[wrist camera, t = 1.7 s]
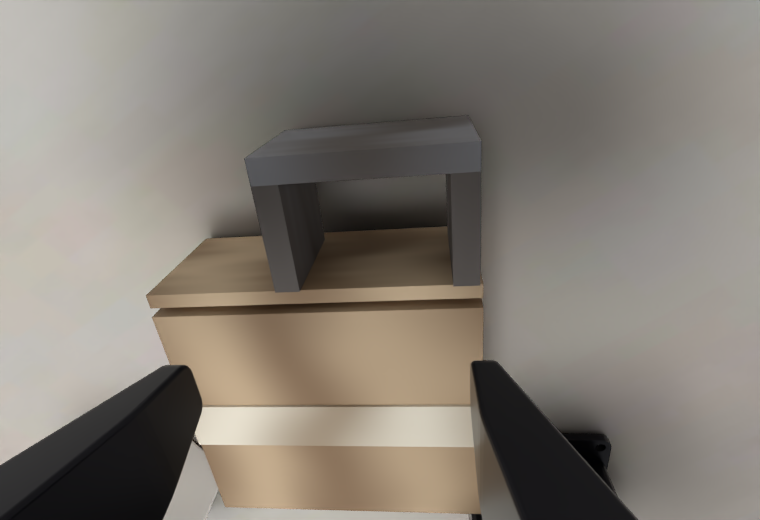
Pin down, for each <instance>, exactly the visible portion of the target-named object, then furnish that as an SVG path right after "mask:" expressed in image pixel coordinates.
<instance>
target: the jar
mask: <svg viewBox="0 0 760 520" xmlns="http://www.w3.org/2000/svg"><path fill="white" fill-rule="evenodd" d="M218 490H219V489H218V487H217V484H216V481H215V479H214V476H213V474H212V471H211V469H210V466H209V463H208V461H207V458H206V456H205V453H204V450H203V449H202V448H200V447H199V446H198V445H197V444H196V443H195V442H193V441H192V443H191V446H190V449H189V452H188V455H187V458H186V461H185V464H184V467H183V470H182V473H181V476H180V478H179V481H178V484H177V487H176V490H175V492H174V495H173V498H172V500H171V502H170V505H169V507H168V509H167V512H166V514H165V516H164V518H163V520H206V518H207V516H208V514H209V511H210V509H211V507H212V504H213V502H214V500H215V497H216V495H217V493H218Z"/></svg>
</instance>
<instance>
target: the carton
mask: <svg viewBox="0 0 760 520" xmlns="http://www.w3.org/2000/svg"><path fill="white" fill-rule="evenodd" d="M152 319H153V321H154V324H155V326H156V329H157V332H158V334H159V337H160V339H161V342H162V345H163V347H164V350H165V352H166V355H167V357H168V360H169V363H170V365H186V366H188V367H189V368H190V369H191V370H192V373H193V375H194V378H195V381H196V384H197V386H198V389H199V392H200V395H201V398H202V403H203V407H202V413H201V416H200V419H199V422H198V425H197V428H196V431H195V435H196V437H197V440H198V443H199V445H202V448H203V450H204V453H205V456H206V458H207V461H208V463H209V466H210V469H211V471H212V474H213V476H214V479H215V481H216V484H217V487H218V489H219V492H220V494H221V497H222V500H223V502H224V505H225V507H242V508H278V509H315V510H351V511H388V512H424V513H460V514H481V509H480V504H479V495H478V487H477V475H476V464H475V453H474V442H473V430H472V419H471V406H470V364H471V362H472V361H478V360H483V303H482V299H481V298H464V299H432V300H400V301H368V302H336V303H304V304H272V305H240V306H208V307H176V308H160V310H159V311H158V312H157V313H156V314H155V315H154V316H153V317H152Z"/></svg>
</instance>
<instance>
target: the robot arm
mask: <svg viewBox="0 0 760 520" xmlns="http://www.w3.org/2000/svg"><path fill="white" fill-rule="evenodd" d="M470 406H471V419H472V430H473V442H474V453H475V464H476V475H477V487H478V495H479V504H480V509H481V514H469V520H638V519H637V518H636V517H635V516H634V515H633V513H632V512H631V511H630V510H629V509H628V508H627V507H626V506H625V504H624V503H623V502H622V501H621V500H620V499H619V498H618V496H617V494H616V492H615V489H614V487H613V484H612V482H611V479H610V477H609V475H608V472H607V467H608V462H609V456H610V451H611V444H610V442H609V440H608V438H607V437H606V436H605V435H603V434H561V433H560V432H559V430H558V429H557V428H556V427H555V426H554V425H553V424H552V423H551V421H550V420H549V419H548V418H547V417H546V416H545V415H544V414H543V412H542V411H541V410H540V409H539V408H538V407H537V406H536V405H535V403H534V402H533V401H532V400H531V399H530V398H529V397H528V396H527V394H526V393H525V392H524V391H523V390H522V389H521V388H520V387H519V386H518V384H517V383H516V382H515V381H514V380H513V379H512V378H511V377H510V375H509V374H508V373H507V372H506V371H505V370H504V369H503V368H502V366H501V365H500V364H499V363H498V362H496V361H494V360H478V361H472V362H471V364H470ZM202 407H203V403H202V398H201V395H200V392H199V389H198V386H197V384H196V381H195V378H194V375H193V373H192V370H191V369H190V368H189V367H188V366H186V365H165V366H162V367H160V368H159V369H157V370H156V371H154V372H152V373H151V374H149V375H147V376H146V377H144V378H142V379H141V380H139V381H138V382H136V383H134V384H133V385H131V386H129V387H128V388H126V389H124V390H123V391H121V392H119V393H118V394H116V395H115V396H113V397H111V398H110V399H108V400H106V401H105V402H103V403H101V404H100V405H98V406H97V407H95V408H93V409H92V410H90V411H88V412H87V413H85V414H83V415H82V416H80V417H79V418H77V419H75V420H74V421H72V422H70V423H69V424H67V425H65V426H64V427H62V428H61V429H59V430H57V431H56V432H54V433H52V434H51V435H49V436H47V437H46V438H44V439H42V440H41V441H39V442H38V443H36V444H34V445H33V446H31V447H29V448H28V449H26V450H24V451H23V452H21V453H20V454H18V455H16V456H15V457H13V458H11V459H10V460H8V461H6V462H5V463H3V464H2V465H0V520H163V518H164V516H165V514H166V512H167V509H168V507H169V505H170V502H171V500H172V498H173V495H174V492H175V490H176V487H177V484H178V481H179V478H180V476H181V473H182V470H183V467H184V464H185V461H186V458H187V455H188V452H189V449H190V446H191V443H192V440H193V437H194V434H195V431H196V428H197V425H198V422H199V419H200V416H201V413H202ZM598 444H599V445H598Z"/></svg>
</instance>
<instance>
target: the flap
mask: <svg viewBox="0 0 760 520" xmlns="http://www.w3.org/2000/svg"><path fill="white" fill-rule="evenodd" d="M481 152H482V141H481V139H480V137H479V135H478V133H477V131H476V129H475V127H474V125H473V123H472V122H471V120H470V118H469V116H468V115H466V116H454V117H442V118H429V119H417V120H405V121H392V122H380V123H368V124H355V125H343V126H331V127H318V128H306V129H294V130H285V131H283V132H282V133H280V134H279V135H277V136H276V137H274V138H273V139H272V140H270V141H269V142H267V143H266V144H264V145H263V146H262V147H260V148H259V149H257V150H256V151H254V152H253V153H251V154H250V155H249V156H247V157H246V158H244V160H245V164H246V169H247V173H248V177H249V181H250V186H251V190H252V194H253V199H254V203H255V207H256V212H257V216H258V220H259V225H260V229H261V233H262V236H249V237H230V238H210V239H205V240H204V241H203V242H202V243H201V244H200V245H199V246H198V247H197V248H196V249H195V250H194V251H193V252H192V253H191V254H190V255H188V256H187V257H186V258H185V259H184V260H183V261H182V262H181V263H180V264H179V265H178V266H177V267H176V268H175V269H174V270H173V271H171V272H170V273H169V274H168V275H167V276H166V277H165V278H164V279H163V280H162V281H161V282H160V283H159V284H158V285H157V286H156V287H155V288H153V289H152V290H151V291H150V292H149V293H148V294H147V295H146V297H147V300H148V302H149V305H150V308H176V307H208V306H240V305H272V304H304V303H336V302H368V301H400V300H432V299H464V298H483V280H482V276H481V271H480V269H481ZM436 174H446V195H447V226H445V227H426V228H406V229H386V230H367V231H347V232H328V233H324V230H323V224H322V218H321V212H320V206H319V200H318V194H317V187H316V182H329V181H344V180H359V179H375V178H390V177H405V176H420V175H436Z"/></svg>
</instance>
